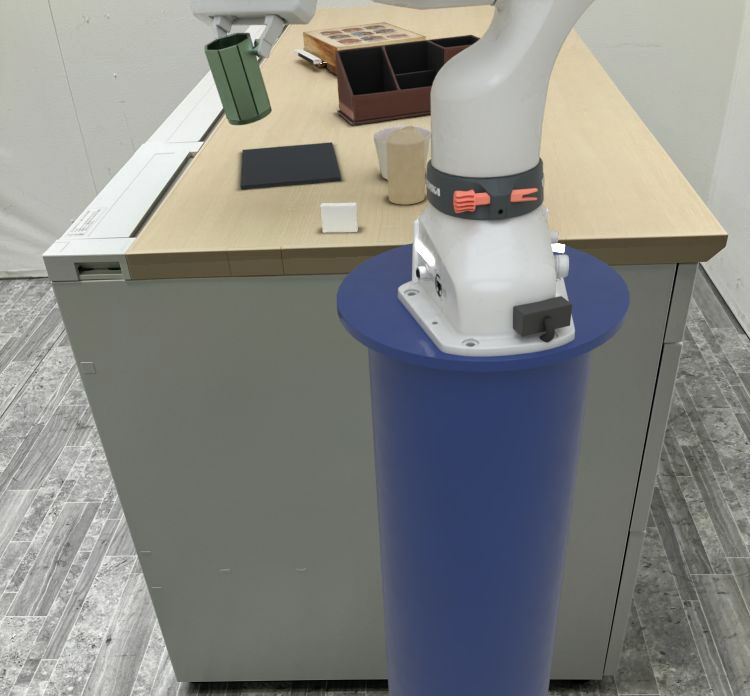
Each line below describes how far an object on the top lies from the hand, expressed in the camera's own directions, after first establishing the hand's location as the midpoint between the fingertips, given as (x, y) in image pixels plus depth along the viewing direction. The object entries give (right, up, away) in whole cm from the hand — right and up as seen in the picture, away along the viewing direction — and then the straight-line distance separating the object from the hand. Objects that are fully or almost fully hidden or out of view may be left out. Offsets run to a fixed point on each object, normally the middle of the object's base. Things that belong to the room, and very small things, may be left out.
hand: (239, 56), depth 109 cm
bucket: (-2, -5, -1) cm, 5 cm away
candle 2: (+23, -7, +23) cm, 33 cm away
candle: (+23, -14, +14) cm, 30 cm away
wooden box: (+14, +47, +92) cm, 104 cm away
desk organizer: (+26, +19, +55) cm, 63 cm away
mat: (+4, -3, +30) cm, 30 cm away
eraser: (+13, -22, +6) cm, 26 cm away
